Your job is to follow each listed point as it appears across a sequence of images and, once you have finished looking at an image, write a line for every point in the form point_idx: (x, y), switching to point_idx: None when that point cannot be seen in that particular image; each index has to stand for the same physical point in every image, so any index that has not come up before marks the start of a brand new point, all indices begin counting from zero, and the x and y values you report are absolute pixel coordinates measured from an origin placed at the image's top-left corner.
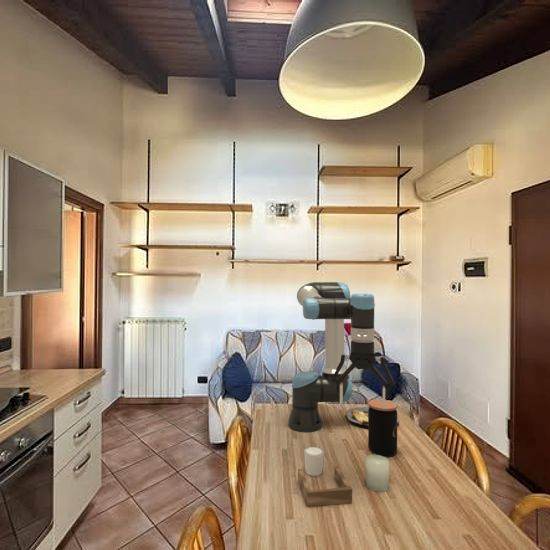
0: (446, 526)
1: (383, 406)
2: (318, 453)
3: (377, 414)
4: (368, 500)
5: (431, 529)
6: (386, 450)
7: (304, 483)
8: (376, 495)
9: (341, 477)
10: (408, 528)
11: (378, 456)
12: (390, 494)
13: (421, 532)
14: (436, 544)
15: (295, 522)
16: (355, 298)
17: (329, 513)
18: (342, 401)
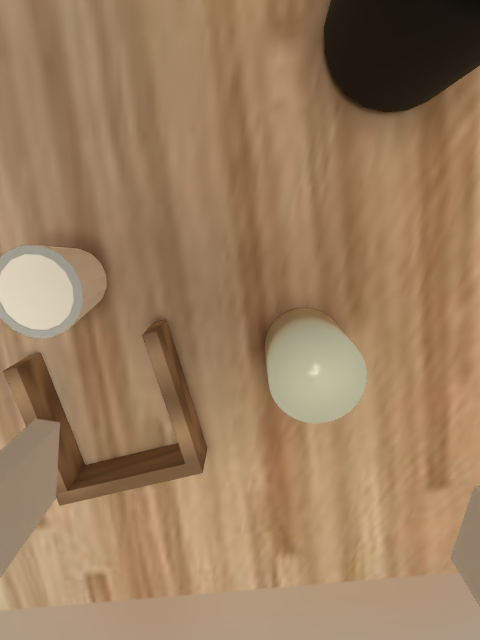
0: (449, 515)
1: (468, 579)
2: (59, 312)
3: (440, 2)
4: (258, 430)
5: (403, 529)
6: (403, 106)
7: None
8: None
9: (168, 408)
10: (344, 531)
11: (329, 346)
12: None
13: (373, 542)
14: (394, 575)
15: (55, 538)
16: None
17: (141, 497)
18: (48, 472)
